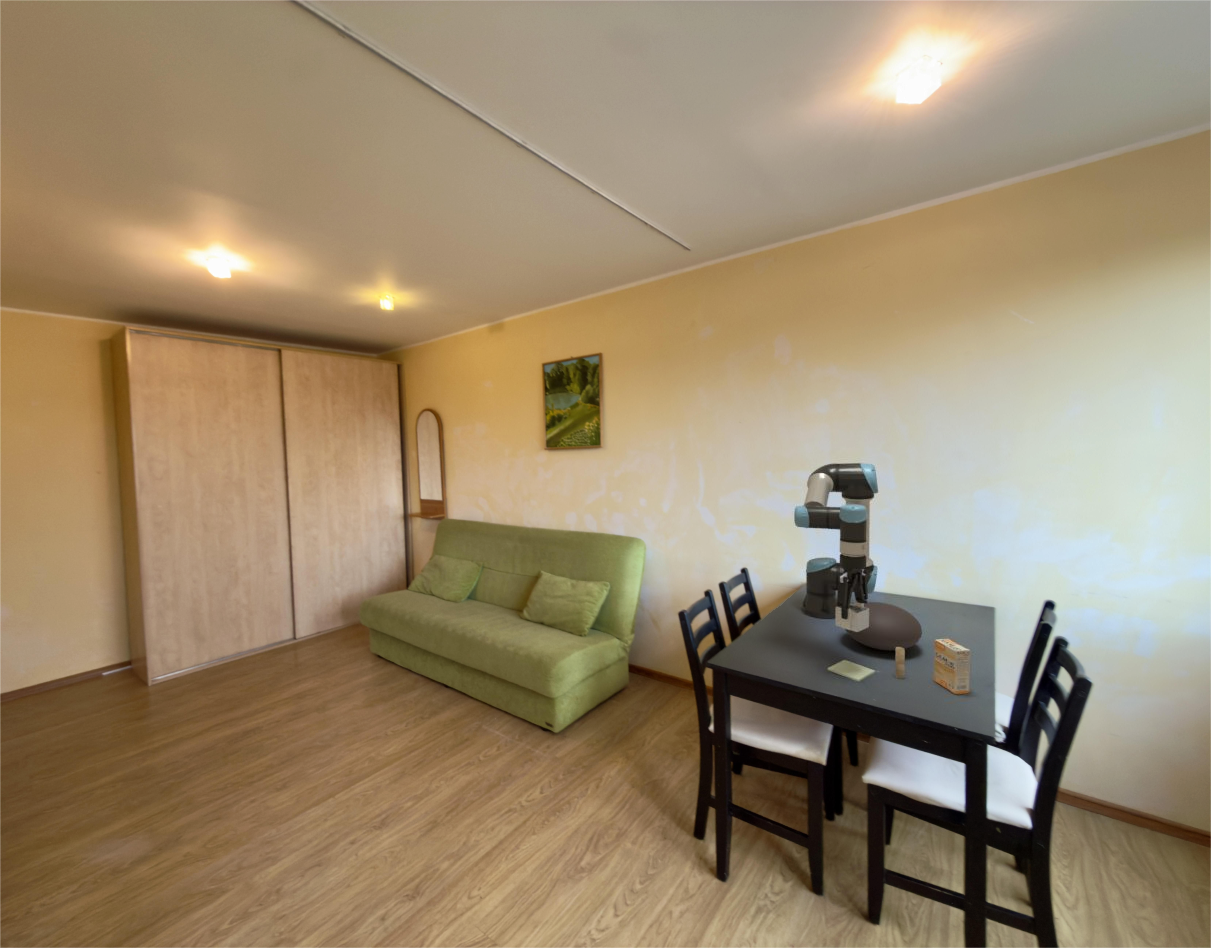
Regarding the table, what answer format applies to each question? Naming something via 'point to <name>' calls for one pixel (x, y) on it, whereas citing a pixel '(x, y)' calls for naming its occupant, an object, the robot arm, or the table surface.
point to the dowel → (899, 662)
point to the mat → (851, 670)
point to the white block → (855, 617)
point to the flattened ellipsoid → (888, 628)
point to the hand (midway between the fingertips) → (852, 625)
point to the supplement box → (952, 666)
